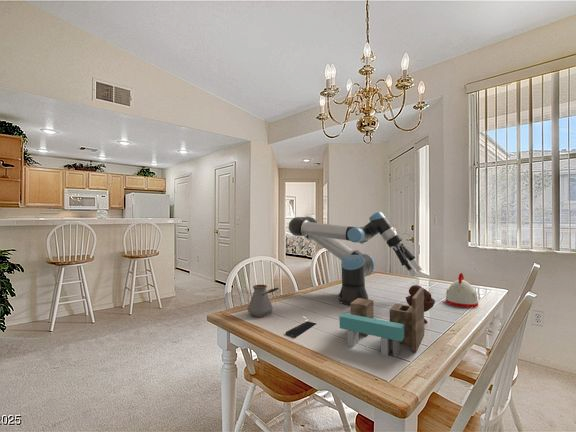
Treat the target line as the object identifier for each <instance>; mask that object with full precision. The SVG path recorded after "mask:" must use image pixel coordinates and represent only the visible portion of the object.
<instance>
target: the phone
mask: <svg viewBox="0 0 576 432" xmlns="http://www.w3.org/2000/svg"><path fill="white" fill-rule="evenodd" d="M316 325H317V323H315V322H313V321H304V322H303V323H301V324H299V325H297V326H294V327H293V328H291V329H289V330H286V331H285V336H288V337H291V338H294V339H296V338H298V337H299V336H301V335H302V334H304V333H305V332H307V331H308V330H310V329H311V328H313V327H314V326H316Z"/></svg>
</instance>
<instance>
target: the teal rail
mask: <svg viewBox="0 0 576 432" xmlns="http://www.w3.org/2000/svg"><path fill="white" fill-rule="evenodd" d="M339 329H342V330H347V331H348V330H350V331H355V332H359V333H364V334H369V335H370V336H374V337H379V338H381V337H382V338H387V339H391V340H393V342H392V357H394V358H397V357H398V355H399V354H400V352H401V349H400V347H401V344H400V341H401V342H402V340H403V338H404V324H400V323H395V322H390V320H382V319H378V318H374V319H373V318H368V317H362V316H357V315H352V314H351V313H345V312H344V313H343V314H341V315H339ZM369 335H368V336H369Z"/></svg>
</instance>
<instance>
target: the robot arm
mask: <svg viewBox="0 0 576 432" xmlns="http://www.w3.org/2000/svg"><path fill="white" fill-rule="evenodd" d="M368 220H369V222H367V224H365V225H364V226H350V225H348V226H347V225H338V224H330V223H321V222H318V221H317V220H316V218H314V217H311V216H296V217H293V218H292V219H290V221H289V223H288V231H289V233H291V235H293V236H294V237H304V238H305V239H307V240H308V241H310V242H311V241H313V242H315V243H317V245H319V246H321V247H323V248H324V249H325V251H328V252H329V253H331V254H332V255H333V256H335V258H337V259H339V260H340V261H341V263H340V265H341V288H340V291H339V294H338V302H339V301H340V302H339V303H341V302H342V303H341V304H343V303H344V304H343V305H347V304H348V305H347V306H351V305H350V303H351V302H353V301H354V300H356V299H357V298H362V299H368V300H370V299H369V294H368V292H367V289H366V282H365V280H366V279H365V278H366V277H368V276H370V275H371V274H372V273H373V272H374V270H375V267H376V264H375V260H374V257H372V256H371V255H369V254H366V253H362V252H361V251H359V250H358V249H352V248H350V247H349V246H347V245H346V244H345V243H343V242H341V241H340V240H342V241H350V242H352V243H356V244H357V243H359V244H360V245H363V244H365V243H366V242H369V241H370V240H371V239H372V238H374V237H375V236H376V235H378V234H379V235H380V236H381V238H382V239H383V240H384V241H385V243H386V244H387V246H388V247H389V248H392V250H393V251H394V253H395V254H396V257H397V258H398V260H399V262H400V264H401V266H404V267H405V268H406V270H407V271H408V274H410V275H411V277H412V278H413V277H415V276H416V275H418V273H419V272H420V271H423V268H422V266H421V265H420V264H419V263H418V262H417V260H416V256H414V255H413V254H412V253H411V252H410V251H409V250H408V249H407V247H406V246H405V244H404V243H401V242H403V238H402V237H401V236H400V235H399V234H398V232H397V231H396V228H395V227H393V226H392V223H390V221H389V220H388V219H387V217H386V216H385V215H384V213H383V212H382V211H377V212H375V213H373V214H372V215H371V216H370V217H369V218H368Z"/></svg>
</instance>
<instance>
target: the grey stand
mask: <svg viewBox="0 0 576 432" xmlns="http://www.w3.org/2000/svg"><path fill="white" fill-rule="evenodd" d="M359 336H360V335H359V332H355V331H350V330H347V347H351V348H355V346H356V345H357V344H358V343H359V341H360V338H359ZM391 351H393V342H392V340H391V339H387V338H382V337H380V354H381V355H383V356H387V357H388V356H389V354H390V353H391Z"/></svg>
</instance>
